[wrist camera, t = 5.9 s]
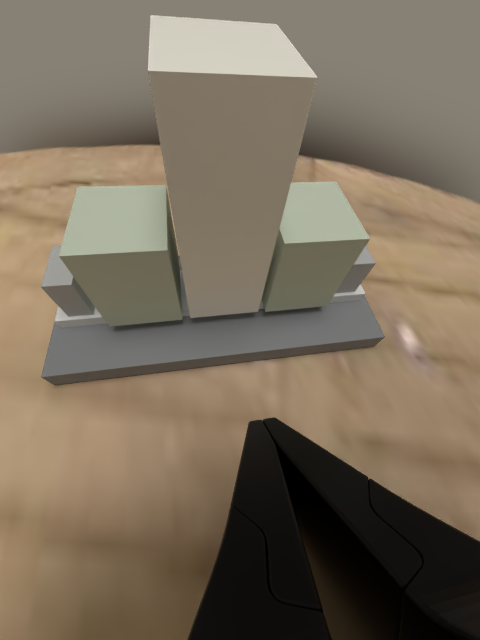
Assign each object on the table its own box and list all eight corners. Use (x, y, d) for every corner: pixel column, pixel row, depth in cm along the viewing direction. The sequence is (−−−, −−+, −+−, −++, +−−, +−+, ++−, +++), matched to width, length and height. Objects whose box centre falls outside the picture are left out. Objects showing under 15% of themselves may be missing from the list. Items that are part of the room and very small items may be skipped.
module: (258, 311, 17) (317, 77, 7) (190, 318, 17) (148, 70, 6) (245, 254, 20) (274, 22, 10) (185, 257, 19) (150, 12, 9)
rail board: (373, 346, 19) (463, 271, 12) (54, 385, 16) (-70, 313, 9) (333, 258, 24) (381, 167, 17) (77, 275, 21) (6, 171, 14)
